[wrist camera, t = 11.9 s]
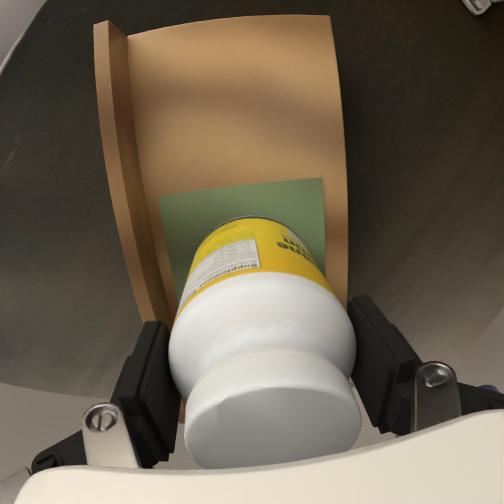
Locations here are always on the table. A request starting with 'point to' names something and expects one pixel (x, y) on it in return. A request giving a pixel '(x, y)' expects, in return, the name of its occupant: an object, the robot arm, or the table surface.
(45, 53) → the table surface
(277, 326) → the pill bottle
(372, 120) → the table surface
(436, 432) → the robot arm
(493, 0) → the strap clip
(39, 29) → the table surface
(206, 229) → the shelf
